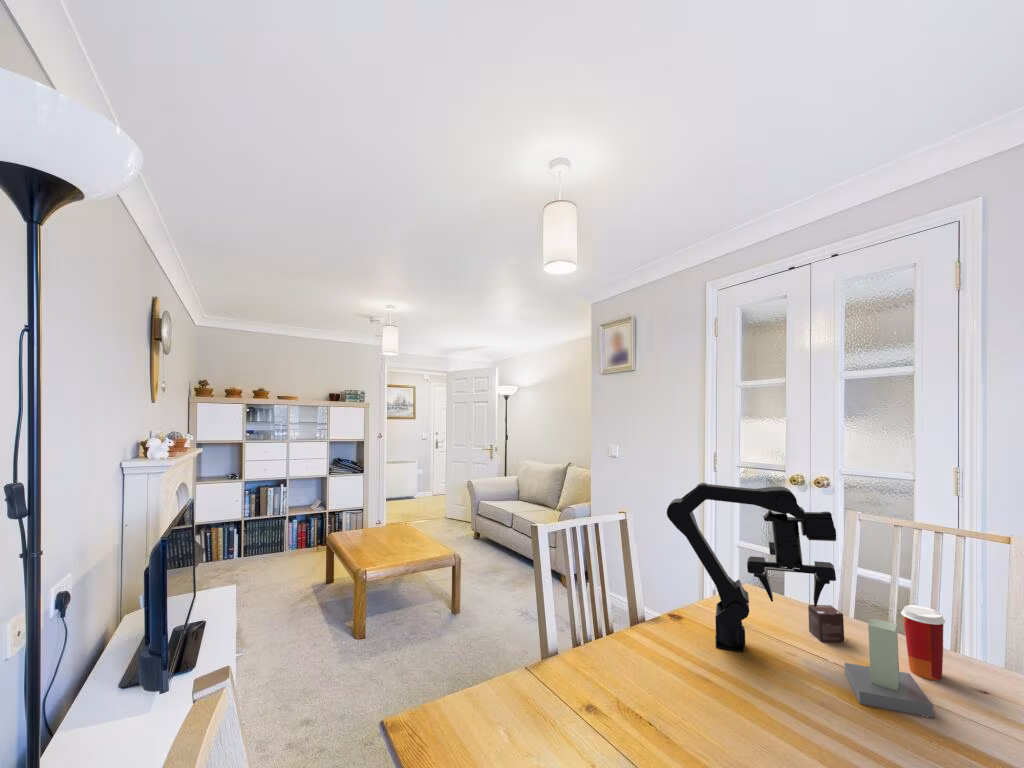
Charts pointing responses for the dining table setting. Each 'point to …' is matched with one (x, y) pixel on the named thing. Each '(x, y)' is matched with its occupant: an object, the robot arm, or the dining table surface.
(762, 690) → the dining table surface
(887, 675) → the sage block
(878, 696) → the slate slab
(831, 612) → the box
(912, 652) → the paper cup
